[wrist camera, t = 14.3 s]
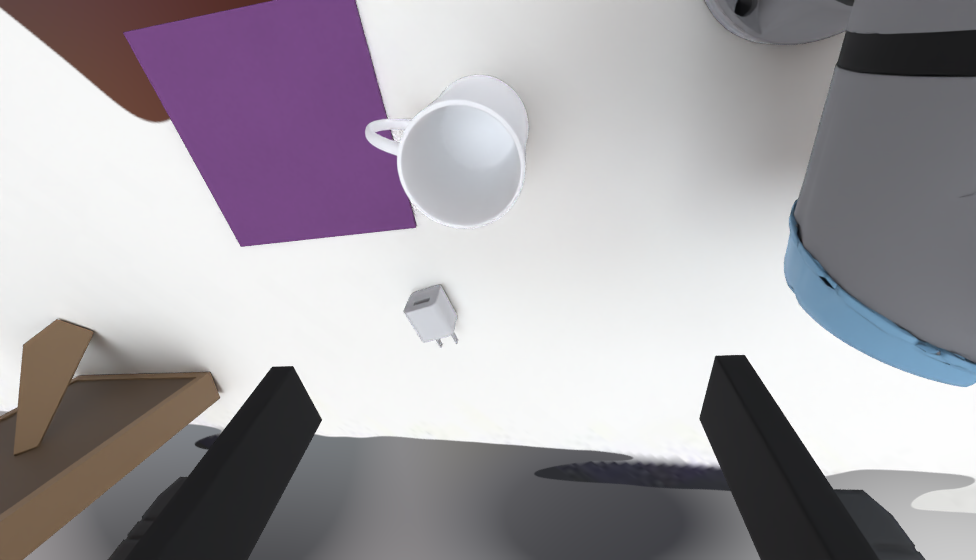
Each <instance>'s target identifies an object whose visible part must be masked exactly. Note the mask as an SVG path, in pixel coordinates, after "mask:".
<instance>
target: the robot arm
mask: <svg viewBox="0 0 976 560" xmlns="http://www.w3.org/2000/svg"><path fill="white" fill-rule="evenodd" d="M705 3H706V5H707V6H708V8H709V10H710V11H711V13H712V14H713V15H714V17H715V18H716V19H717V20H718V21H719V22H720V23H721V24H722V25H723V26H724V27H725V28H726V29H728V30H729V31H731V32H732V33H734V34H735V35H737V36H739V37H741V38H744V39H747V40H749V41H753V42H757V43H765V44H778V45H795V44H805V43H810V42H815V41H819V40H822V39H825V38H829V37H831V36H834V35H837V34H839V33H842V32H844V31H846V34H845V37H844V41H843V44H842V48H841V52H840V55H839V59H838V62H837V64H836V66H835V70H834V73H833V77H832V80H831V84H830V88H829V91H828V95H827V99H826V102H825V106H824V109H823V113H822V117H821V120H820V124H819V127H818V131H817V135H816V138H815V142H814V145H813V149H812V153H811V156H810V160H809V164H808V167H807V171H806V174H805V178H804V182H803V185H802V188H801V191H800V195H799V198H798V199H797V200H796V201H795V202H794V205H793V207H792V210H791V214H790V217H789V228H790V235H789V240H788V246H787V250H786V254H785V260H784V273H785V278H786V281H787V284H788V286H789V287H790V289H791V290H792V291H793V292H794V293H795V295H796V298H797V300H798V303H799V304H800V306H801V307H802V308H803V309H804V310H805V311H806V312H807V313H808V314H809V315H810V316H811V317H812V318H813V319H814V320H815V321H816V322H817V323H818V324H819V325H821V326H822V327H823V328H825V329H826V330H827V331H828V332H830V333H831V334H833V335H834V336H836V337H837V338H839V339H840V340H842V341H843V342H845V343H847V344H848V345H850V346H852V347H854V348H855V349H857V350H859V351H861V352H863V353H865V354H867V355H869V356H870V357H873V358H875V359H877V360H879V361H881V362H883V363H885V364H888V365H890V366H893V367H895V368H898V369H900V370H903V371H905V372H908V373H911V374H914V375H917V376H920V377H923V378H926V379H930V380H934V381H937V382H941V383H945V384H950V385H954V386H960V387H968V386H970V385H973V384H974V383H976V0H705ZM699 419H700V421H701V423H702V426H703V428H704V430H705V433H706V435H707V437H708V440H709V442H710V444H711V446H712V449H713V451H714V453H715V456H716V458H717V460H718V463H719V465H720V467H721V469H722V472H723V474H724V476H725V479H726V481H727V483H728V485H729V488H730V490H731V492H732V495H733V497H734V499H735V501H736V504H737V506H738V508H739V511H740V513H741V515H742V517H743V520H744V522H745V525H746V527H747V529H748V531H749V534H750V536H751V538H752V541H753V543H754V545H755V547H756V550H757V552H758V554H759V557H760V559H761V560H925V558H924V557H923V556H922V555H921V553H920V552H918V551H916V549H915V545H914V544H913V542H912V541H911V540H910V539H909V537H908V536H907V534H906V533H905V532H904V530H903V529H902V528H901V526H900V525H899V524H898V522H897V521H896V520H895V519H894V517H893V516H892V515H891V514H890V513H889V512H888V511H886V510H885V509H884V508H883V507H882V506H881V505H879V504H878V503H877V502H876V501H875V500H874V499H872V498H871V497H870V496H869V495H868V494H867V493H865V492H864V491H863V490H837V489H836V490H834V489H833V488H832V487H831V485H830V484H829V482H828V481H827V479H826V478H825V476H824V475H823V473H822V472H821V470H820V468H819V467H818V465H817V464H816V462H815V461H814V459H813V458H812V456H811V455H810V453H809V452H808V450H807V449H806V447H805V446H804V444H803V443H802V441H801V440H800V438H799V437H798V435H797V434H796V432H795V431H794V429H793V428H792V426H791V425H790V423H789V422H788V420H787V418H786V417H785V415H784V414H783V412H782V411H781V409H780V408H779V406H778V405H777V403H776V402H775V400H774V399H773V397H772V396H771V394H770V393H769V391H768V390H767V388H766V387H765V385H764V384H763V382H762V381H761V379H760V378H759V376H758V375H757V373H756V371H755V370H754V368H753V367H752V365H751V364H750V362H749V361H748V359H747V358H746V356H745V355H725V356H715V360H714V364H713V367H712V371H711V375H710V379H709V383H708V387H707V391H706V395H705V399H704V403H703V407H702V410H701V414H700V418H699ZM321 421H322V419H321V417H320V415H319V413H318V411H317V410H316V408H315V406H314V404H313V402H312V400H311V399H310V397H309V395H308V393H307V391H306V389H305V387H304V386H303V384H302V382H301V380H300V378H299V376H298V374H297V373H296V371H295V369H294V367H293V366H285V367H272V368H271V369H270V370H269V372H268V373H267V374H266V376H265V377H264V378H263V379H262V381H261V382H260V383H259V385H258V386H257V387H256V389H255V390H254V391H253V393H252V394H251V395H250V396H249V398H248V399H247V400H246V402H245V403H244V404H243V406H242V407H241V408H240V410H239V411H238V412H237V413H236V415H235V416H234V417H233V419H232V420H231V421H230V423H229V424H228V425H227V426H226V428H225V429H224V430H223V432H222V433H221V434H220V436H219V437H218V438H217V440H216V441H215V442H214V443H213V445H212V446H211V447H210V449H209V450H208V451H207V453H206V454H205V455H204V457H203V458H202V459H201V460H200V462H199V463H198V464H197V466H196V467H195V469H194V470H193V471H192V472H191V474H190V475H189V476H188V477H180V478H179V479H177V480H176V481H175V482H174V483H173V484H172V485H170V486H169V487H168V488H167V489H166V490H165V491H164V492H162V493H161V494H160V495H159V496H158V497H157V499H156V500H155V501H154V502H153V504H152V505H151V506H150V507H149V509H148V510H147V511H146V512H145V514H144V515H143V516H142V520H141V521H140V522H137V524H136V525H135V526H134V527H133V529H132V530H131V531H130V533H129V534H128V537H127V539H126V540H123V541H122V542H121V544H120V545H119V546H118V547H117V549H116V550H115V551H114V553H113V554H112V555H111V556H110V558H109V559H108V560H248V558H249V556H250V554H251V552H252V550H253V548H254V547H255V545H256V543H257V541H258V539H259V537H260V535H261V533H262V531H263V530H264V528H265V526H266V524H267V522H268V520H269V518H270V516H271V514H272V513H273V511H274V509H275V507H276V505H277V503H278V501H279V499H280V498H281V496H282V494H283V492H284V490H285V488H286V487H287V485H288V483H289V481H290V479H291V477H292V475H293V473H294V471H295V470H296V468H297V466H298V464H299V462H300V460H301V458H302V457H303V455H304V453H305V450H306V449H307V447H308V445H309V443H310V442H311V440H312V438H313V436H314V434H315V432H316V430H317V428H318V427H319V425H320V423H321Z"/></svg>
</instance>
